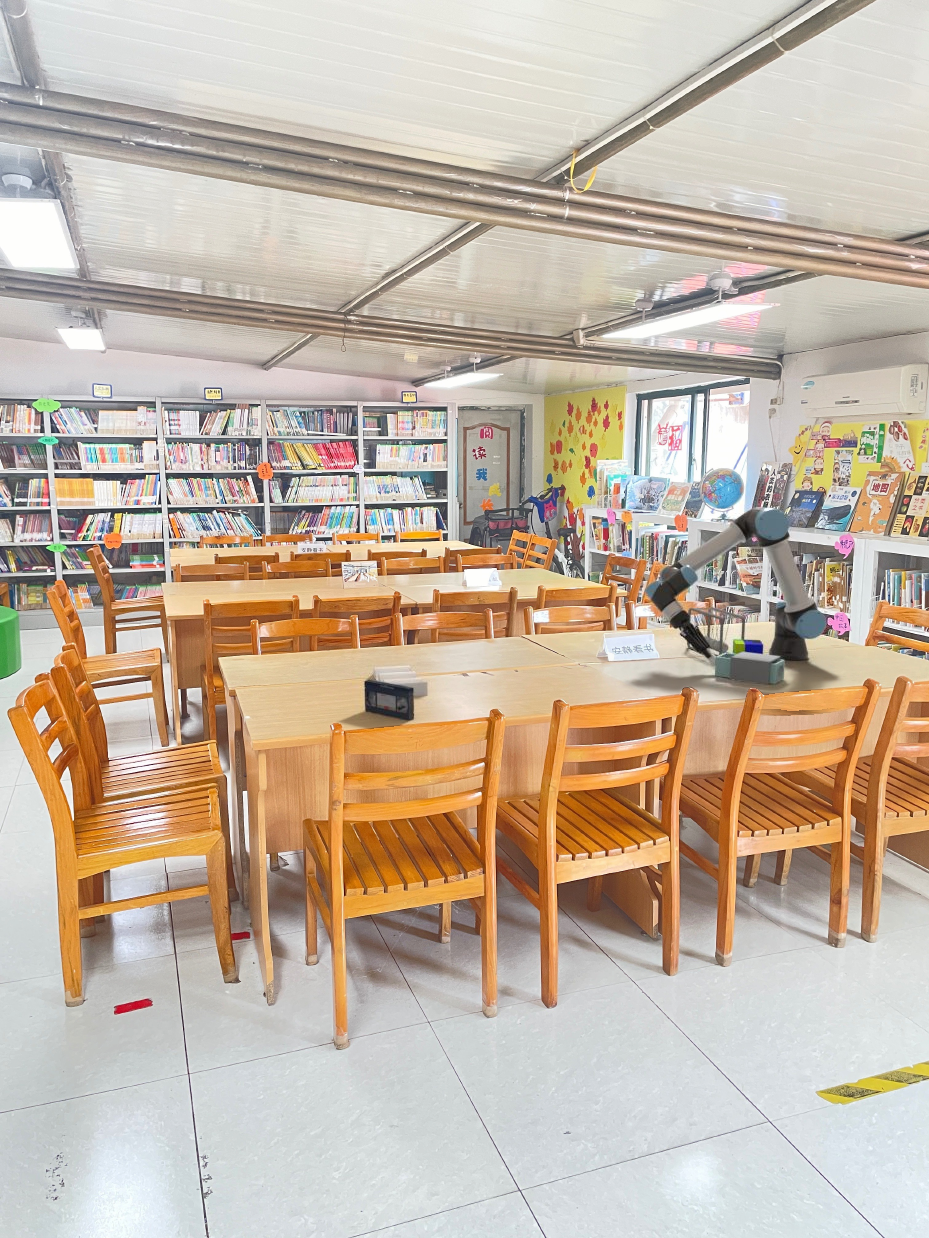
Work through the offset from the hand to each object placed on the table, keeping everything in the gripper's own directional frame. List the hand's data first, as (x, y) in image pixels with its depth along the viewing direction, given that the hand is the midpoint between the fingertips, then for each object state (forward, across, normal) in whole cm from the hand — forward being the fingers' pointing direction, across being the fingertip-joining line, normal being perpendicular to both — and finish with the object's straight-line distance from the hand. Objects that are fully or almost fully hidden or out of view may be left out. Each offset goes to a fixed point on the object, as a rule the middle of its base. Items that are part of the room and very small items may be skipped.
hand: (716, 663), depth 327 cm
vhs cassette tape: (-39, +117, -44) cm, 131 cm away
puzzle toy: (+6, -18, +1) cm, 19 cm away
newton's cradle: (-8, -36, -14) cm, 39 cm away
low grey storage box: (+13, 0, +8) cm, 15 cm away
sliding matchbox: (+11, 0, +6) cm, 13 cm away
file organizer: (-55, +85, -62) cm, 119 cm away
